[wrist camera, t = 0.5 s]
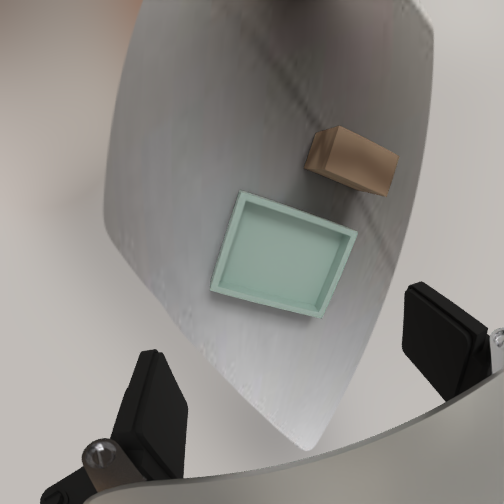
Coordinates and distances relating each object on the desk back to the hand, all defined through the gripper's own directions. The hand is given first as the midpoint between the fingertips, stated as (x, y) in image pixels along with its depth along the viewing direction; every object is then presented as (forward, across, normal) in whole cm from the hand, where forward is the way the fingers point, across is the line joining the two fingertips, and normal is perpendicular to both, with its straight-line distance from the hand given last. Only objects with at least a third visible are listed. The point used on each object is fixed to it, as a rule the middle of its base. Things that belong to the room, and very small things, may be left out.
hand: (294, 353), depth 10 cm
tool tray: (+28, -4, +6) cm, 29 cm away
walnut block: (+28, -14, -4) cm, 32 cm away
